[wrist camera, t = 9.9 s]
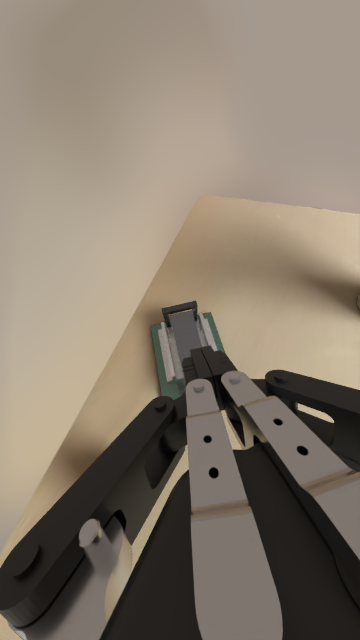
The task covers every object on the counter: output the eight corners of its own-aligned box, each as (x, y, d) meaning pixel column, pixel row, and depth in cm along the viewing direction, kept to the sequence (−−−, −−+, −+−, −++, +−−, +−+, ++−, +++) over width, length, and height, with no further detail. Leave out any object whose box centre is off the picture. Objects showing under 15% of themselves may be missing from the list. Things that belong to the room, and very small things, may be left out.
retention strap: (213, 384, 27) (191, 309, 32) (186, 390, 27) (169, 315, 32) (212, 385, 28) (191, 313, 34) (187, 391, 28) (170, 318, 33)
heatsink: (237, 391, 32) (248, 384, 26) (164, 409, 32) (156, 407, 25) (210, 314, 40) (213, 293, 33) (151, 328, 39) (142, 310, 33)
